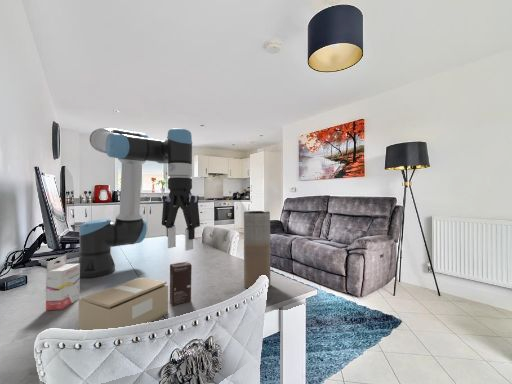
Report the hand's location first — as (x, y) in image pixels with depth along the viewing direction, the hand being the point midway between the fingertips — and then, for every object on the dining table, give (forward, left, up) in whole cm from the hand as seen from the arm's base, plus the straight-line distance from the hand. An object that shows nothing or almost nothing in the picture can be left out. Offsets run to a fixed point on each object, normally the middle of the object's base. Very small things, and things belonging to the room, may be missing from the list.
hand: (180, 248), depth 79 cm
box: (0, 0, -17) cm, 17 cm away
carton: (-4, -16, -17) cm, 24 cm away
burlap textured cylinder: (+16, +23, -17) cm, 33 cm away
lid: (-4, -16, -9) cm, 19 cm away
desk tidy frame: (-86, +10, -17) cm, 88 cm away
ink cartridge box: (-32, -18, -17) cm, 41 cm away
